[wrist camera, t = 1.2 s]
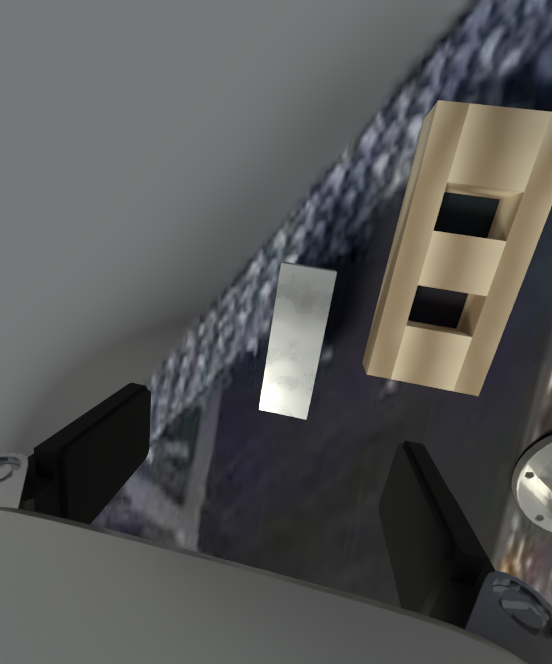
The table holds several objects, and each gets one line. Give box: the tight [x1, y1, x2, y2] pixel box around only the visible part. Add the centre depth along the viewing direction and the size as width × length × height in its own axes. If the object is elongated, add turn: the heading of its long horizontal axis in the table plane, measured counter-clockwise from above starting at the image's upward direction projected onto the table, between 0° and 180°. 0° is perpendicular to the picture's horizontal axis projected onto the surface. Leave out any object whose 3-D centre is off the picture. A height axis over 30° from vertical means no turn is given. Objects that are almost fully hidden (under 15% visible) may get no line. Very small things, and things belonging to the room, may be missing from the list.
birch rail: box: [362, 100, 552, 396], centre depth 25 cm, size 10×22×3 cm, turn 171°
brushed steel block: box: [259, 262, 337, 419], centre depth 26 cm, size 4×12×8 cm, turn 171°
